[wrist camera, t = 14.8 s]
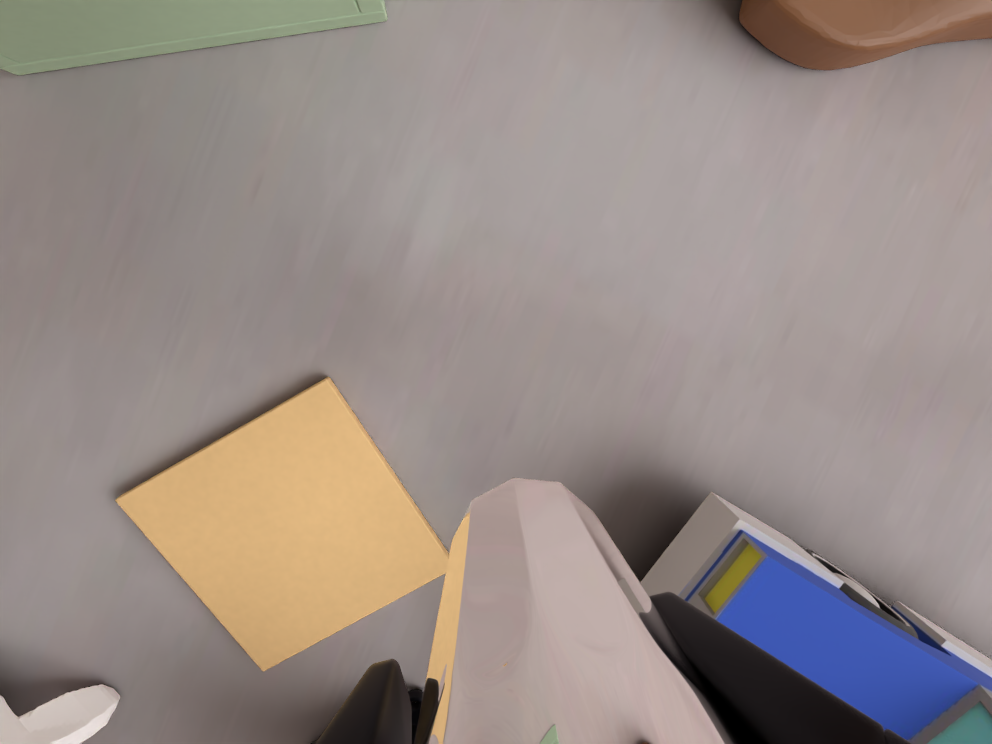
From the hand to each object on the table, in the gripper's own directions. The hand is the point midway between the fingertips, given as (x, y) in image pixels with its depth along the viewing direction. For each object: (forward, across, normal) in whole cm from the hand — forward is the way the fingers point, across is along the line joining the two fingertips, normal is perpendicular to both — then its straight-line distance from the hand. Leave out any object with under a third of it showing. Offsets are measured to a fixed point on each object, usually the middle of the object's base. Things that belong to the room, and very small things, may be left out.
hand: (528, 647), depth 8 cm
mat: (+13, +9, +3) cm, 16 cm away
